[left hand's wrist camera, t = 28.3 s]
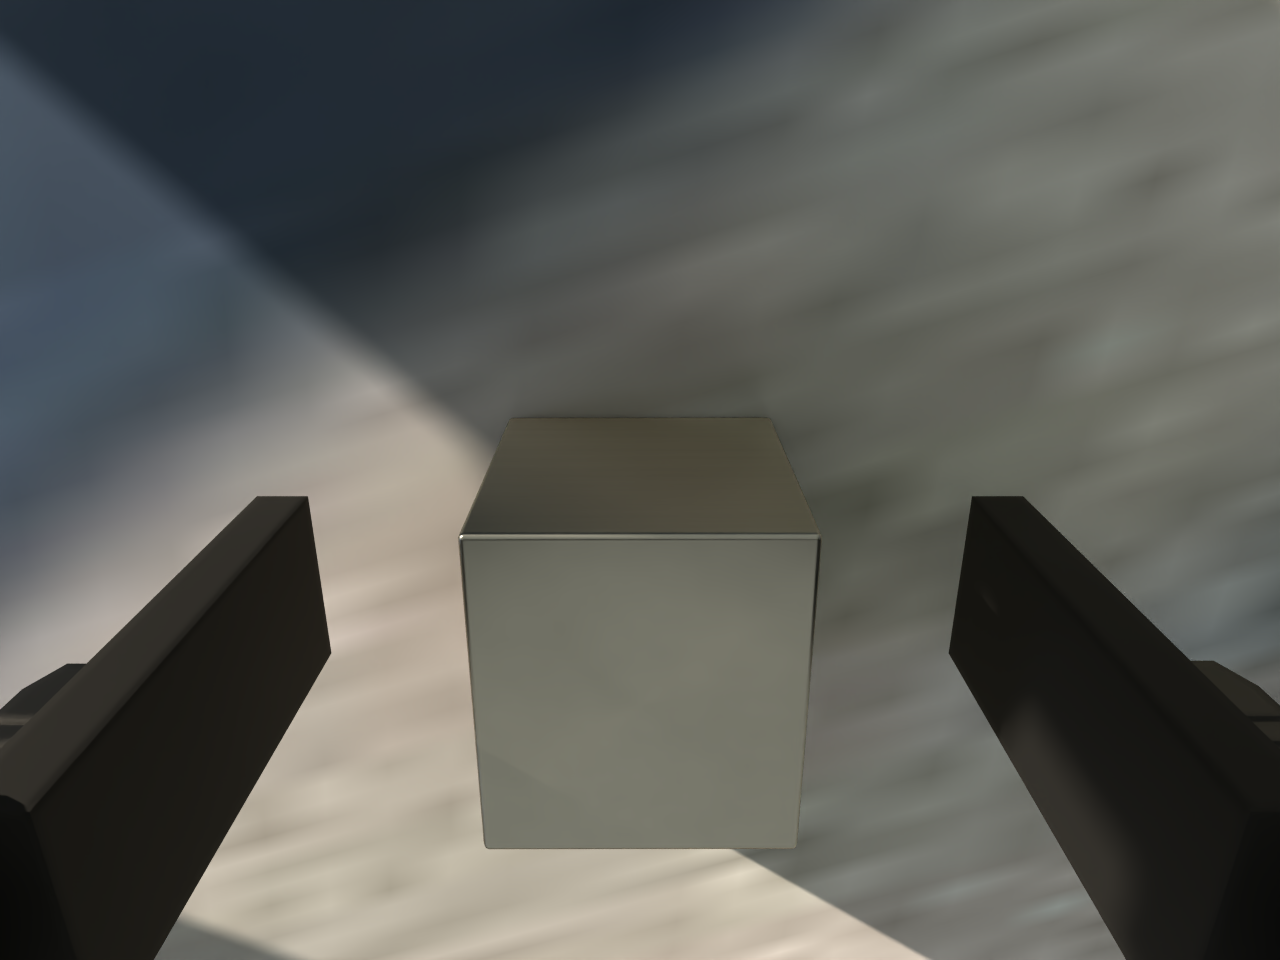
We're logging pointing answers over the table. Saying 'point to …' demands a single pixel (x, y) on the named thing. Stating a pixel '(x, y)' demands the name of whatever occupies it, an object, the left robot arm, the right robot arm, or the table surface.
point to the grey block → (640, 634)
